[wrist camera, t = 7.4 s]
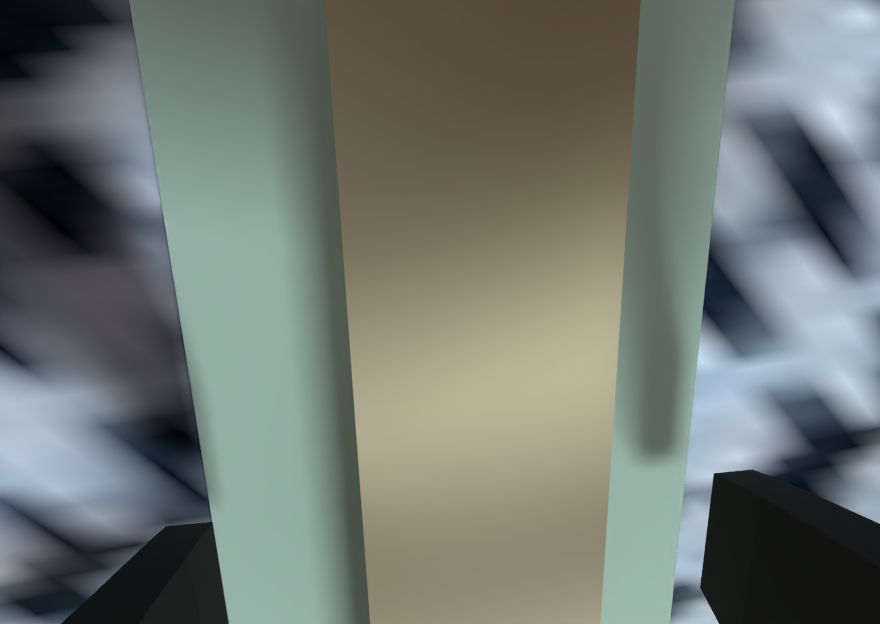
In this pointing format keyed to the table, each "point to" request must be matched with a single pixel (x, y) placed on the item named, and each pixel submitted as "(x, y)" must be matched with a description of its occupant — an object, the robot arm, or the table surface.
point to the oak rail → (483, 295)
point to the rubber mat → (325, 306)
